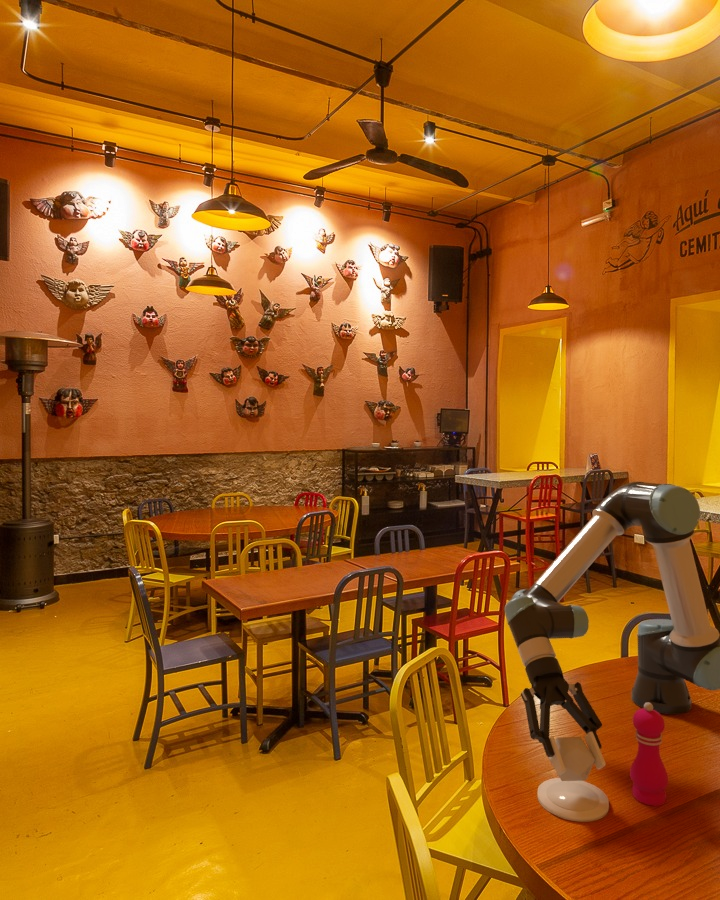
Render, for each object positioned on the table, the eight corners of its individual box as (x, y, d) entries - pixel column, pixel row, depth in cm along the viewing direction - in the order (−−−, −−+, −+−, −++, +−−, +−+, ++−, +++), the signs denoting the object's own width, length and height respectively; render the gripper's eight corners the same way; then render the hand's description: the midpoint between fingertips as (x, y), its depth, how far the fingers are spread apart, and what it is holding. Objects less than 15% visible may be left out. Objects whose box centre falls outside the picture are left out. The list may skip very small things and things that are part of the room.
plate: (582, 778, 138) (582, 772, 138) (623, 815, 124) (623, 809, 124) (525, 787, 135) (525, 782, 135) (560, 826, 121) (560, 821, 121)
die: (588, 797, 124) (607, 750, 126) (548, 772, 125) (568, 727, 128) (574, 789, 131) (592, 745, 134) (537, 766, 133) (555, 723, 135)
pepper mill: (666, 811, 125) (665, 713, 125) (627, 800, 129) (626, 705, 129) (670, 793, 131) (669, 699, 131) (633, 784, 135) (632, 692, 135)
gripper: (575, 665, 146) (619, 769, 130) (492, 674, 141) (527, 783, 125) (588, 650, 140) (636, 756, 125) (502, 659, 135) (541, 771, 120)
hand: (581, 770), depth 125 cm, fingers closed on die, 8 cm apart
